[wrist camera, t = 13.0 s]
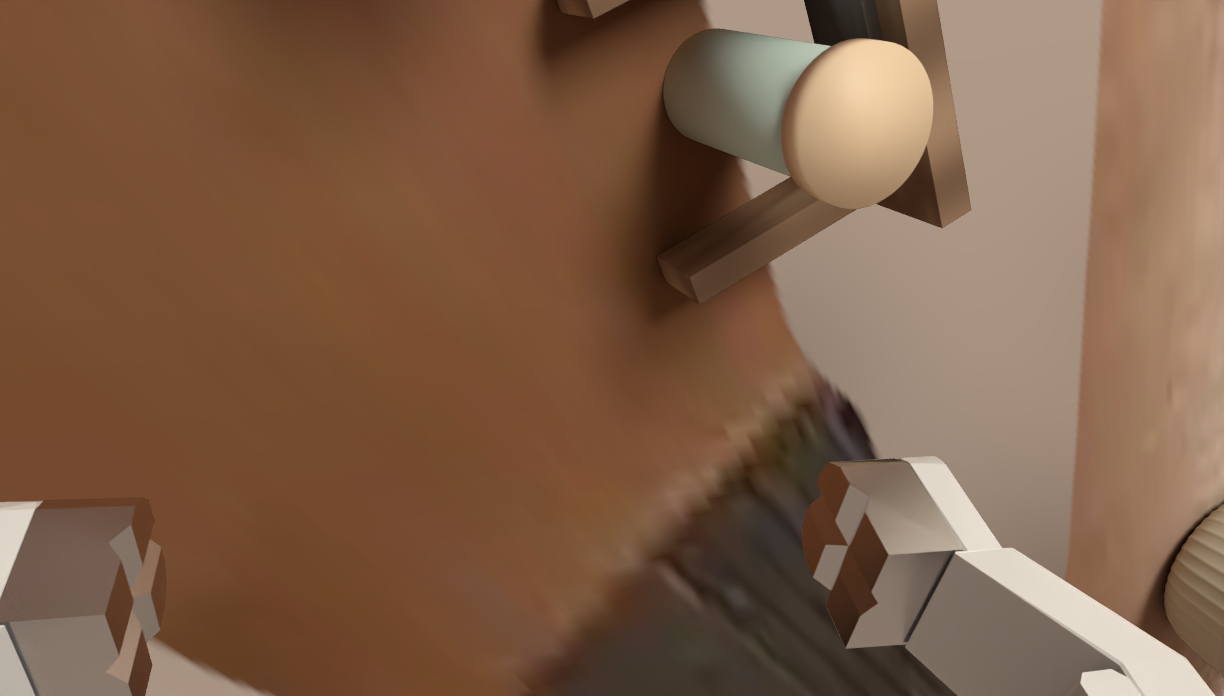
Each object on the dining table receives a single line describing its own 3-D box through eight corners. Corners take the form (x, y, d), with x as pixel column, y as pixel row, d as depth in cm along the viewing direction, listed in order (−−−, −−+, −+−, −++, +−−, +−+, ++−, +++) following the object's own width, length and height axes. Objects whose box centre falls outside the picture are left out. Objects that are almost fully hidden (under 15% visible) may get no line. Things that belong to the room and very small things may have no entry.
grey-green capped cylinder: (636, 54, 36) (781, 88, 28) (747, -5, 37) (918, 11, 29) (678, 174, 39) (821, 237, 31) (780, 115, 40) (944, 162, 32)
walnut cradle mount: (535, -55, 33) (604, -54, 28) (796, -184, 35) (903, -204, 30) (673, 302, 41) (745, 351, 36) (877, 178, 44) (971, 210, 39)
